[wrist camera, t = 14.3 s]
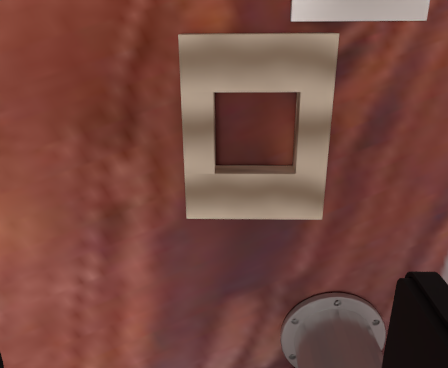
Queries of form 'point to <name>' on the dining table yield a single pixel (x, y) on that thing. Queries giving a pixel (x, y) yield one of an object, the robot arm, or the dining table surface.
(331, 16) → the plate
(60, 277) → the dining table surface
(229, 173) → the frame
